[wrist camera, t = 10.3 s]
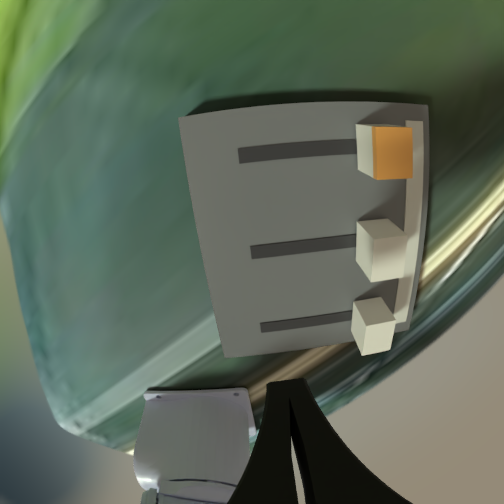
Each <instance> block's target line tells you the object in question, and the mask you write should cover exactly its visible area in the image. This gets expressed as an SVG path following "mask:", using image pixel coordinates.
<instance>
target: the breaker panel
mask: <svg viewBox="0 0 504 504" xmlns="http://www.w3.org/2000/svg"><path fill="white" fill-rule="evenodd" d="M178 120H179V127H180V134H181V140H182V147H183V153H184V159H185V165H186V171H187V177H188V183H189V189H190V194H191V200H192V206H193V211H194V217H195V222H196V227H197V232H198V238H199V243H200V248H201V253H202V258H203V263H204V268H205V272H206V277H207V282H208V287H209V291H210V296H211V300H212V305H213V309H214V314H215V318H216V323H217V327H218V331H219V336H220V340H221V344H222V348H223V352H224V356H225V358H231V357H242V356H252V355H262V354H271V353H279V352H287V351H295V350H302V349H309V348H316V347H322V346H328V345H334V344H340V343H346V342H352V341H356V343H357V346H358V348H359V350H360V352H361V355H362V356H364V355H369V354H373V353H378V352H383V351H387V350H390V348H391V343H392V339H393V334H394V333H396V332H401V331H405V330H409V327H410V323H411V318H412V313H413V308H414V303H415V298H416V293H417V287H418V281H419V275H420V269H421V262H422V255H423V247H424V239H425V229H426V219H427V206H428V190H429V114H428V105H420V104H407V103H390V102H308V103H290V104H276V105H265V106H255V107H246V108H237V109H230V110H222V111H215V112H209V113H202V114H196V115H191V116H185V117H180V118H178ZM356 124H390V125H398V126H405V127H411V128H412V137H413V178H408V179H386V180H376V179H374V178H372V177H371V176H369V175H367V174H365V173H363V172H361V171H359V170H358V159H357V138H356Z"/></svg>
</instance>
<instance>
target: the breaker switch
mask: <svg viewBox="0 0 504 504" xmlns="http://www.w3.org/2000/svg"><path fill="white" fill-rule="evenodd" d="M356 138H357V159H358V170H359V171H361V172H363V173H365V174H367V175H369V176H371V177H372V178H374V179H376V180H386V179H408V178H413V137H412V128H411V127H405V126H398V125H390V124H356Z"/></svg>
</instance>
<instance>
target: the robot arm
mask: <svg viewBox="0 0 504 504" xmlns="http://www.w3.org/2000/svg"><path fill="white" fill-rule="evenodd" d="M266 386H267V392H266V402H265V408H264V413H263V418H262V422H261V426H260V429H259V433H258V436H257V439H256V442H255V445H254V448H253V451H252V454H251V456H250V450H249V436H254V435H256V433H257V432H256V427H255V422H254V417H253V413H252V408H251V403H250V398H249V394H248V390H247V389H246V388H229V389H213V390H188V391H145V392H144V397H145V399H146V404H145V407H144V411H143V415H142V419H141V423H140V427H139V431H138V436H137V440H136V444H135V449H134V471H135V475H136V478H137V480H138V482H139V484H140V485H141V487H142V488H143V489H145V490H147V491H145V492H143V494H142V498H141V504H298V498H297V491H296V485H295V477H294V470H293V463H292V457H291V437H292V441H293V446H294V450H295V454H296V458H297V462H298V466H299V470H300V474H301V479H302V483H303V488H304V495H305V502H306V504H412V503H411V502H409V501H408V500H406V499H405V498H403V497H402V496H400V495H399V494H398V493H396V492H395V491H393V490H392V489H391V488H390V487H388V486H387V485H386V484H385V483H384V482H382V481H381V480H380V479H379V478H378V477H377V476H376V475H374V474H373V473H372V472H371V471H370V470H369V469H368V468H366V466H365V465H364V464H363V463H362V462H361V461H360V460H359V459H358V458H357V457H356V456H355V455H354V454H353V453H352V452H351V450H350V449H349V448H348V447H347V446H346V445H345V443H344V442H343V441H342V439H341V438H340V437H339V436H338V434H337V433H336V432H335V430H334V429H333V427H332V426H331V425H330V423H329V422H328V420H327V419H326V417H325V416H324V414H323V413H322V411H321V409H320V408H319V406H318V404H317V402H316V401H315V399H314V397H313V395H312V393H311V391H310V389H309V387H308V384H307V382H306V380H305V379H304V378H299V379H292V380H284V381H276V382H269V383H268V384H267V385H266Z"/></svg>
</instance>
